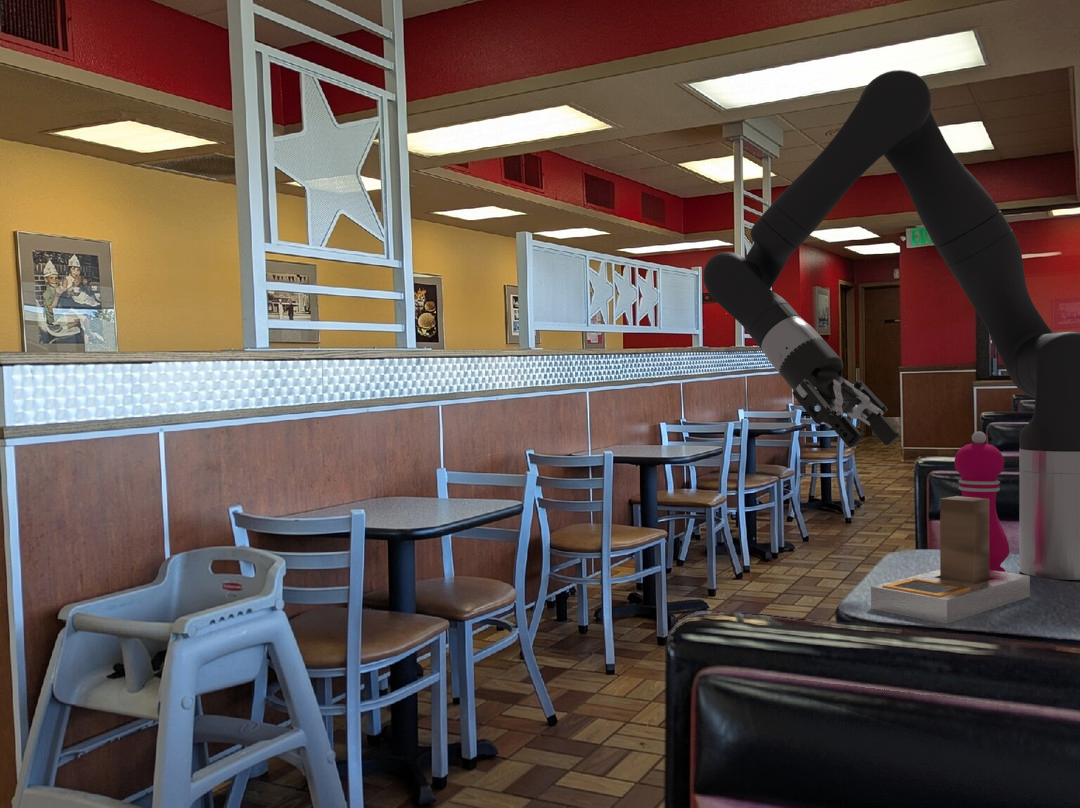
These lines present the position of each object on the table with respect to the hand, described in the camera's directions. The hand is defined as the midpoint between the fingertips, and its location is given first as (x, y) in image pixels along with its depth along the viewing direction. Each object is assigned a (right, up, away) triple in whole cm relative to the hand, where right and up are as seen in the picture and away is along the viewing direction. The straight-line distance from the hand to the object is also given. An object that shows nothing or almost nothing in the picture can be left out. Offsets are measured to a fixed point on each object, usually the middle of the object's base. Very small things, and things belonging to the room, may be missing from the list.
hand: (875, 442), depth 119 cm
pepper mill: (+15, -19, +4) cm, 25 cm away
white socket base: (+5, -19, -11) cm, 22 cm away
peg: (+7, -18, -9) cm, 22 cm away
